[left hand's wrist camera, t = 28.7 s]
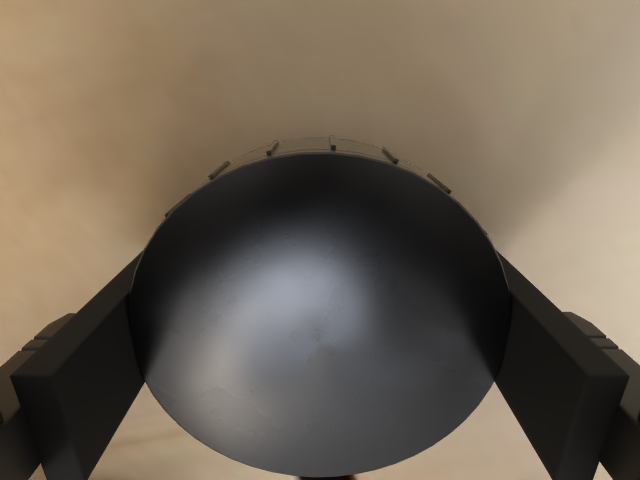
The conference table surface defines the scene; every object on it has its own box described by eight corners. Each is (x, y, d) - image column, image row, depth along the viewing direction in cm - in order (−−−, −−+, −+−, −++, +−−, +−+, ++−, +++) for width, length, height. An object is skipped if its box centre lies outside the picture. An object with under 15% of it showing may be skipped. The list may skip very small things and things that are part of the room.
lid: (368, 54, 10) (383, 46, 8) (530, 328, 13) (576, 380, 10) (93, 260, 12) (40, 302, 10) (288, 455, 15) (282, 521, 12)
